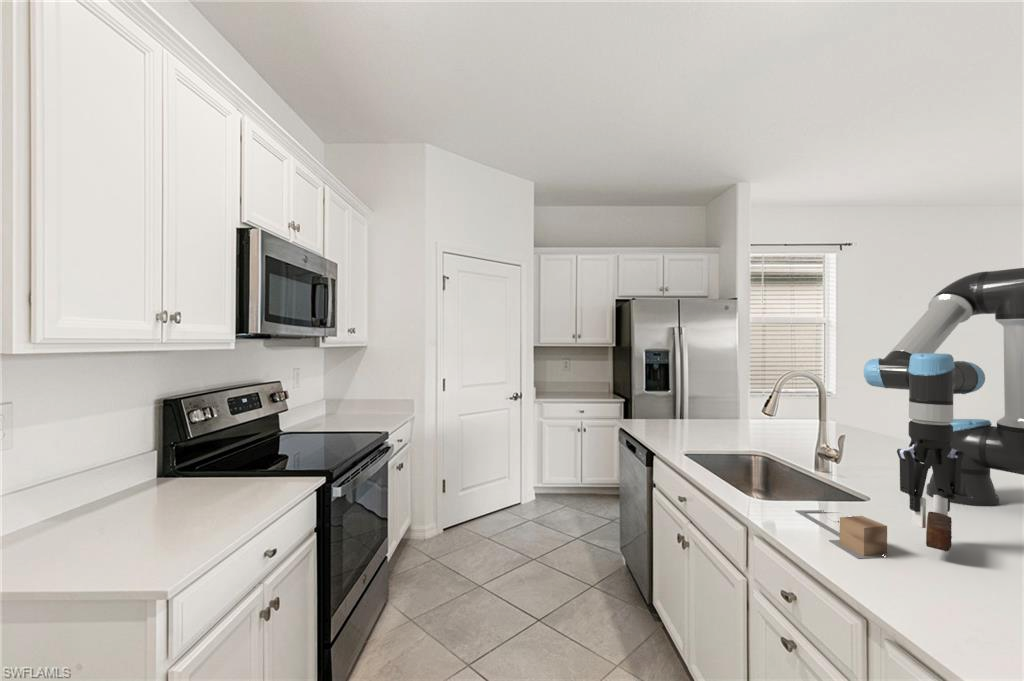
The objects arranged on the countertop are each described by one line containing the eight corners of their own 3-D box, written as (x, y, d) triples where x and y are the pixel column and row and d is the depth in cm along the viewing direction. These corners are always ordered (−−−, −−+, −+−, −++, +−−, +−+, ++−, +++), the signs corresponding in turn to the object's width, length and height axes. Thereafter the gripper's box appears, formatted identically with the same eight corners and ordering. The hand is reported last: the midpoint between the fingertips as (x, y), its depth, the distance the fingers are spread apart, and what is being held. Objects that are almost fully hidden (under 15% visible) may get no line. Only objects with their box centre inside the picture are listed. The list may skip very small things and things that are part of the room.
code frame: (842, 511, 129) (842, 510, 129) (893, 537, 112) (893, 536, 112) (795, 511, 128) (795, 510, 128) (839, 537, 111) (839, 536, 111)
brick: (951, 553, 96) (952, 531, 96) (925, 547, 99) (926, 525, 99) (951, 533, 104) (952, 513, 104) (927, 528, 107) (928, 508, 106)
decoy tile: (867, 540, 109) (867, 539, 109) (899, 558, 100) (899, 557, 100) (828, 540, 109) (828, 540, 109) (857, 558, 100) (857, 557, 100)
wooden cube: (861, 541, 108) (861, 515, 108) (887, 553, 103) (887, 525, 103) (839, 543, 107) (839, 517, 107) (863, 555, 101) (864, 527, 101)
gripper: (952, 419, 110) (951, 519, 110) (879, 418, 110) (878, 519, 110) (985, 424, 103) (984, 532, 103) (906, 424, 102) (905, 532, 102)
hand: (929, 525), depth 106 cm, fingers closed on brick, 4 cm apart
